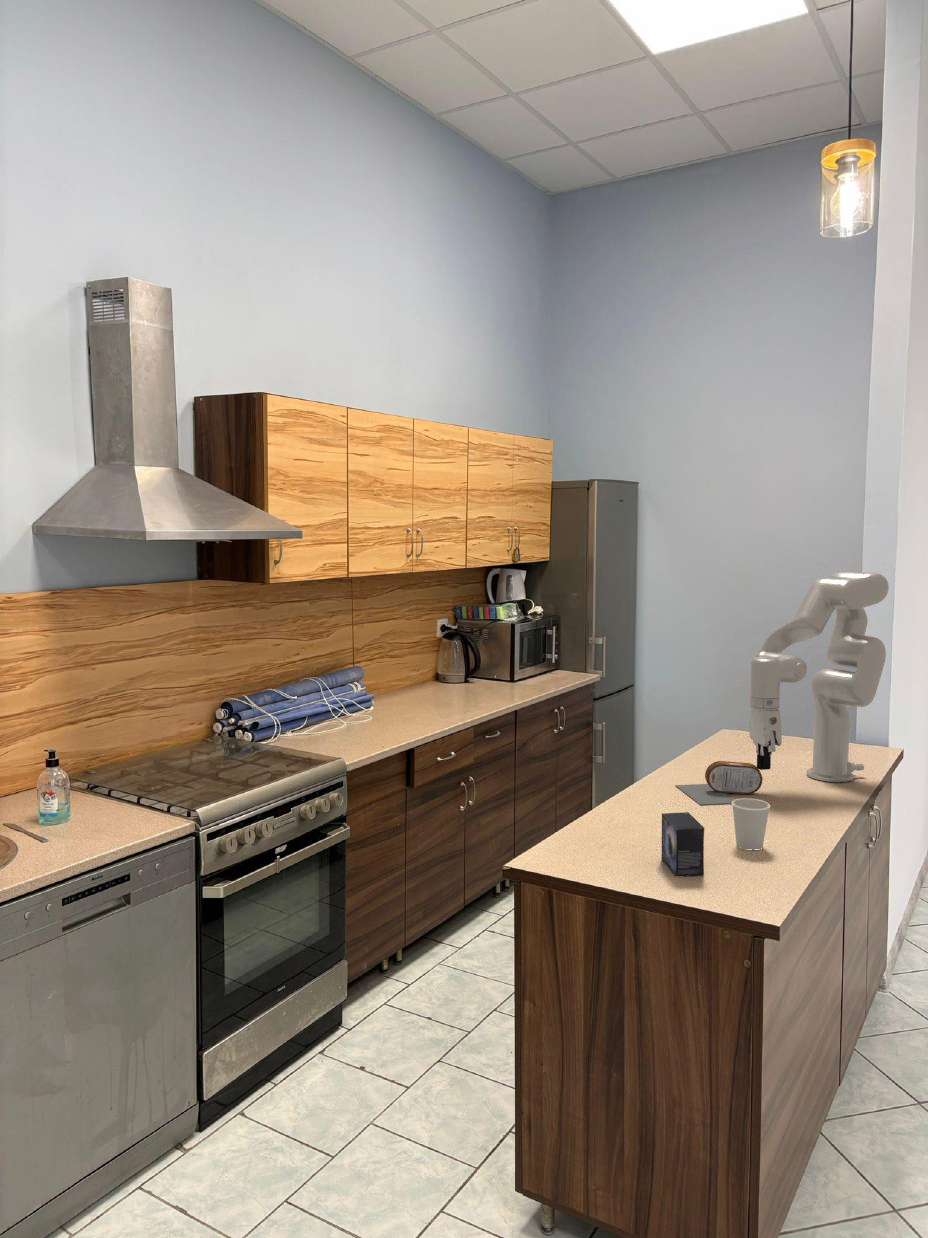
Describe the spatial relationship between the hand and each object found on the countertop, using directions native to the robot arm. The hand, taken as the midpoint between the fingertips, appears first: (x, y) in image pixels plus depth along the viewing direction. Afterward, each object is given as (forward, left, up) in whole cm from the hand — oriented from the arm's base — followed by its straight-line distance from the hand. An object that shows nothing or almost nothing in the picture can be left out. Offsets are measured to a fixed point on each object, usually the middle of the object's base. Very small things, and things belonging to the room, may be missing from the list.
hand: (763, 768), depth 247 cm
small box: (+43, +50, -7) cm, 66 cm away
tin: (+9, 0, -7) cm, 11 cm away
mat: (+16, 0, -7) cm, 17 cm away
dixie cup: (+23, +40, -7) cm, 46 cm away
